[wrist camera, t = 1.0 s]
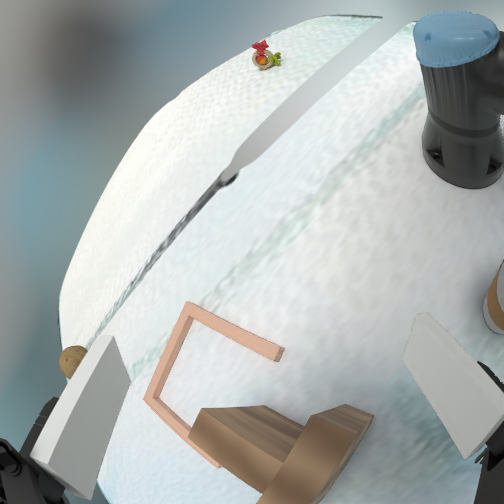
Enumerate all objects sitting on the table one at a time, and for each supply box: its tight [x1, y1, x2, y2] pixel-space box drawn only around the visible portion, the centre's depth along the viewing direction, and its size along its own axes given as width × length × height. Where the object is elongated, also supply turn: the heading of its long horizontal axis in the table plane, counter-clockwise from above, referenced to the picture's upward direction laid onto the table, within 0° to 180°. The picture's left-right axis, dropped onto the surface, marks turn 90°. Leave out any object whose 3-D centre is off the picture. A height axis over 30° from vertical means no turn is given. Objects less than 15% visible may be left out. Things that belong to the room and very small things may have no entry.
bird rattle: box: [252, 40, 281, 70], centre depth 73 cm, size 6×11×9 cm
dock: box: [143, 301, 284, 468], centre depth 40 cm, size 21×20×2 cm
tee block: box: [187, 404, 374, 504], centre depth 24 cm, size 14×14×13 cm
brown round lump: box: [59, 346, 88, 379], centre depth 54 cm, size 9×9×10 cm
